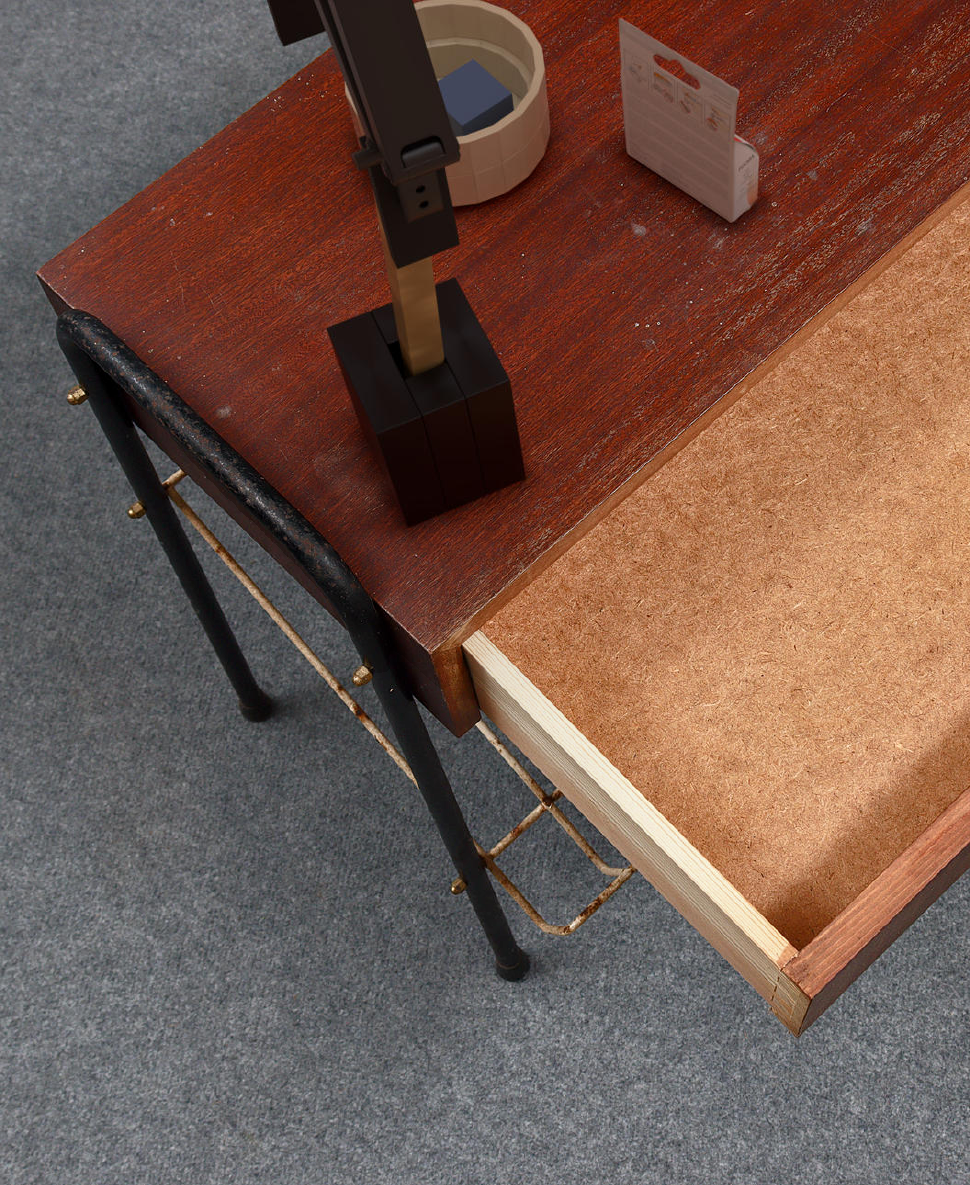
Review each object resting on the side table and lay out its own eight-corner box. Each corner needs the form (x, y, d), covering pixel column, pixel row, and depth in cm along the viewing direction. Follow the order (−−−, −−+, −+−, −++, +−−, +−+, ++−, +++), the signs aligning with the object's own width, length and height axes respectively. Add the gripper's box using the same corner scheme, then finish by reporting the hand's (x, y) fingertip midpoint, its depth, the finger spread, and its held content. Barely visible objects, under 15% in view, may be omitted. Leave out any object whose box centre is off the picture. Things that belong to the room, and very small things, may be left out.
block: (469, 171, 90) (462, 125, 86) (432, 136, 91) (423, 90, 87) (517, 139, 91) (512, 93, 87) (480, 105, 92) (473, 58, 88)
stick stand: (407, 529, 79) (376, 434, 70) (361, 429, 82) (325, 327, 73) (526, 478, 80) (510, 379, 71) (476, 382, 83) (455, 276, 74)
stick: (429, 472, 80) (360, 58, 54) (417, 448, 81) (344, 29, 54) (458, 461, 81) (403, 45, 54) (446, 438, 82) (387, 16, 55)
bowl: (403, 239, 88) (387, 173, 83) (335, 109, 93) (316, 38, 88) (581, 171, 90) (576, 101, 85) (504, 46, 95) (496, -27, 90)
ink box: (647, 131, 91) (647, -13, 81) (758, 203, 88) (771, 63, 78) (618, 157, 90) (614, 15, 80) (728, 230, 87) (739, 92, 77)
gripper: (519, -201, 35) (570, 319, 54) (208, -648, 45) (344, -77, 64) (234, -103, 33) (390, 392, 53) (-18, -583, 44) (189, -22, 63)
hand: (365, 136), depth 58 cm, fingers open, 13 cm apart
